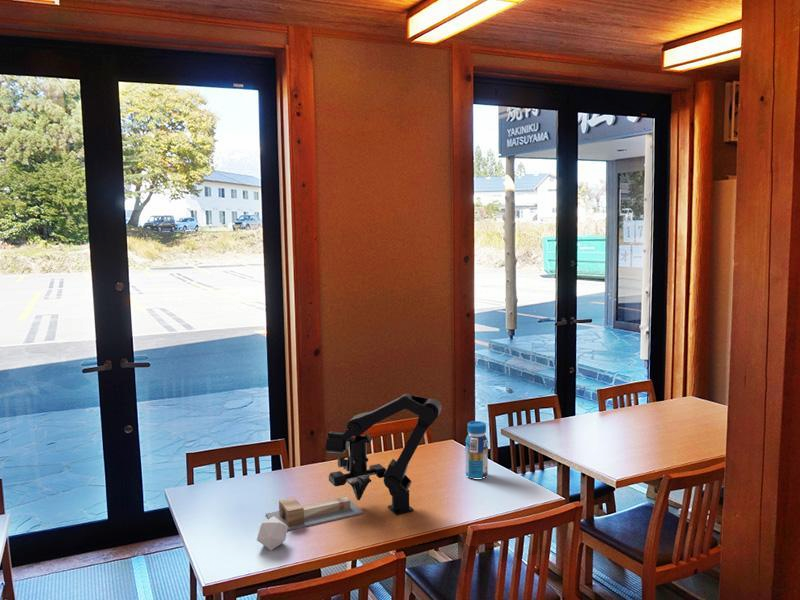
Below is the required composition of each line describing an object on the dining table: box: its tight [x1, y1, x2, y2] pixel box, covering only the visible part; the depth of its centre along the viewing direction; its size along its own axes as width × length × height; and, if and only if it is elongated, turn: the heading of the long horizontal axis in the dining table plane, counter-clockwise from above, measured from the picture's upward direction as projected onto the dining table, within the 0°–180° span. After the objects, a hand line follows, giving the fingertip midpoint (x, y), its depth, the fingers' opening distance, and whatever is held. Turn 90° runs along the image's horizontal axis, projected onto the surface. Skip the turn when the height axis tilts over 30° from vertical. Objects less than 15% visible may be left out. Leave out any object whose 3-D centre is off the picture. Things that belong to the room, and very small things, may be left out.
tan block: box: [278, 497, 304, 527], centre depth 206 cm, size 9×5×5 cm, turn 28°
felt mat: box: [265, 496, 364, 532], centre depth 211 cm, size 14×28×1 cm, turn 118°
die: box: [256, 516, 288, 551], centre depth 190 cm, size 8×9×10 cm
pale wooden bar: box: [301, 496, 351, 518], centre depth 211 cm, size 3×18×3 cm, turn 118°
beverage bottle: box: [464, 420, 489, 478], centre depth 241 cm, size 8×8×20 cm
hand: (358, 499), depth 217 cm, fingers closed
